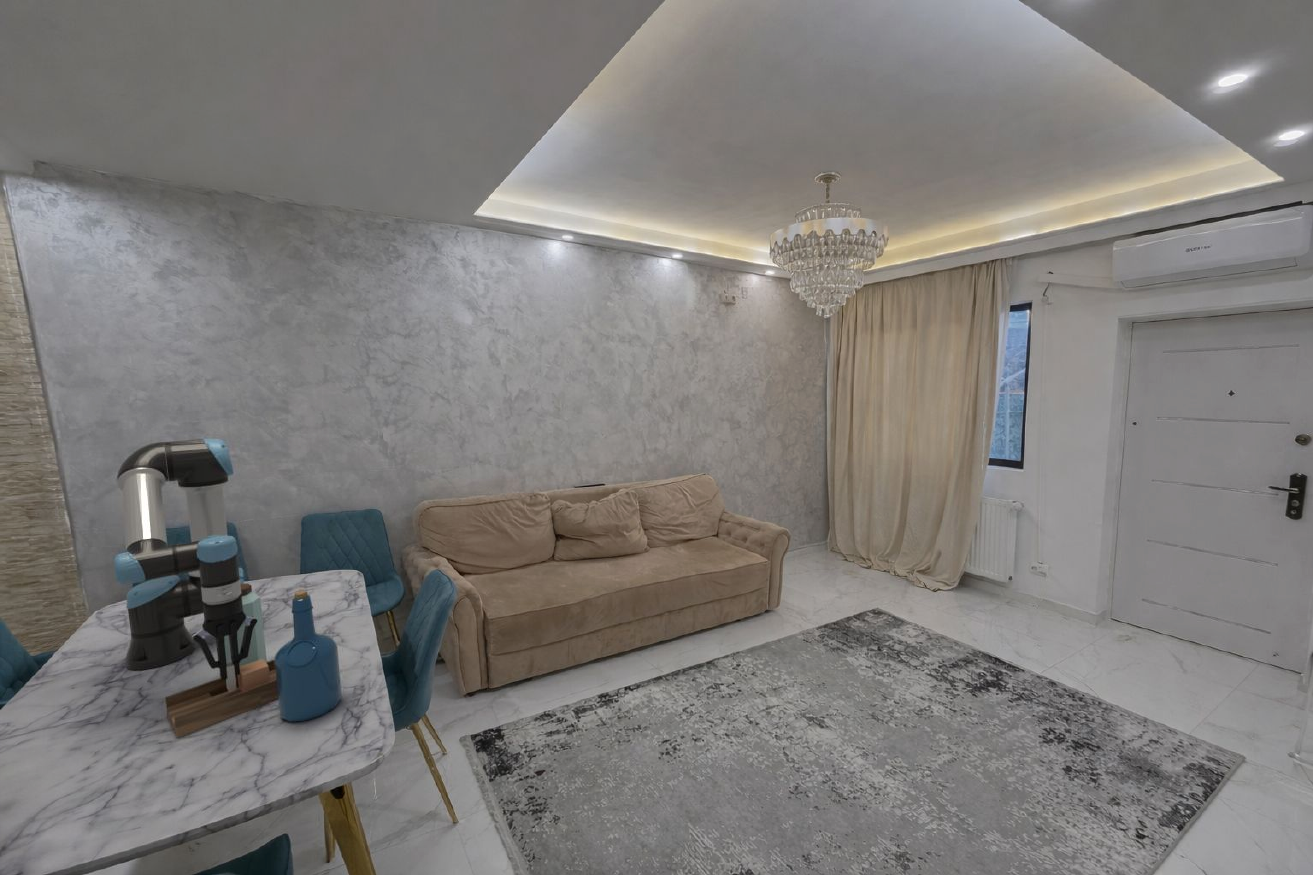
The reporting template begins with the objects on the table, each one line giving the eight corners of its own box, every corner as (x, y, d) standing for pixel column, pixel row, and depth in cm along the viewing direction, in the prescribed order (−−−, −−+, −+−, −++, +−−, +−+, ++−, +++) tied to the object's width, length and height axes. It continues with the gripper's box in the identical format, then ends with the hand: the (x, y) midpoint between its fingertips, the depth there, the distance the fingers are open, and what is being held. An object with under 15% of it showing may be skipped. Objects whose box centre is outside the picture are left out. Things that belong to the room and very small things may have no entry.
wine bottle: (286, 699, 136) (275, 587, 133) (345, 686, 141) (336, 578, 138) (272, 731, 123) (259, 608, 120) (337, 716, 128) (327, 597, 125)
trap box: (167, 716, 130) (164, 693, 129) (307, 664, 152) (305, 645, 152) (177, 738, 121) (174, 713, 121) (323, 680, 144) (321, 659, 144)
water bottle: (242, 685, 143) (233, 596, 140) (212, 681, 145) (202, 593, 142) (276, 665, 152) (267, 582, 150) (247, 662, 154) (239, 580, 152)
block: (239, 687, 137) (236, 667, 136) (264, 678, 141) (262, 658, 141) (244, 695, 134) (242, 674, 133) (270, 685, 138) (268, 665, 137)
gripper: (191, 611, 124) (201, 706, 126) (258, 594, 134) (266, 682, 136) (185, 603, 129) (195, 695, 131) (250, 587, 139) (258, 673, 141)
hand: (231, 688), depth 134 cm, fingers closed
